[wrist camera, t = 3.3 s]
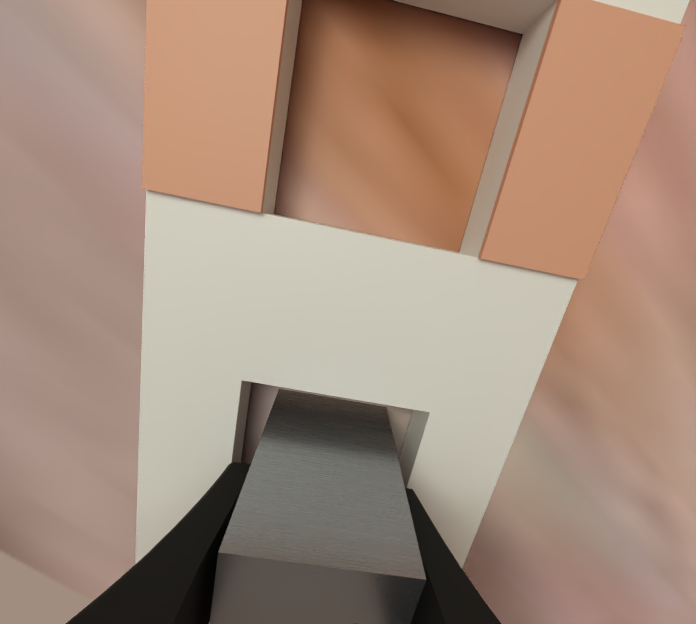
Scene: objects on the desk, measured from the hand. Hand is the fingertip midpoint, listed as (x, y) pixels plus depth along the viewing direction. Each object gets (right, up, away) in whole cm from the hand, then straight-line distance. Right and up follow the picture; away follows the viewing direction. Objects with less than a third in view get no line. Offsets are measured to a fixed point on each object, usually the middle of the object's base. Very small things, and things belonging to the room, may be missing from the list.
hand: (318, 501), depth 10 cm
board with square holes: (+1, +6, +1) cm, 6 cm away
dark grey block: (0, +1, +3) cm, 3 cm away
